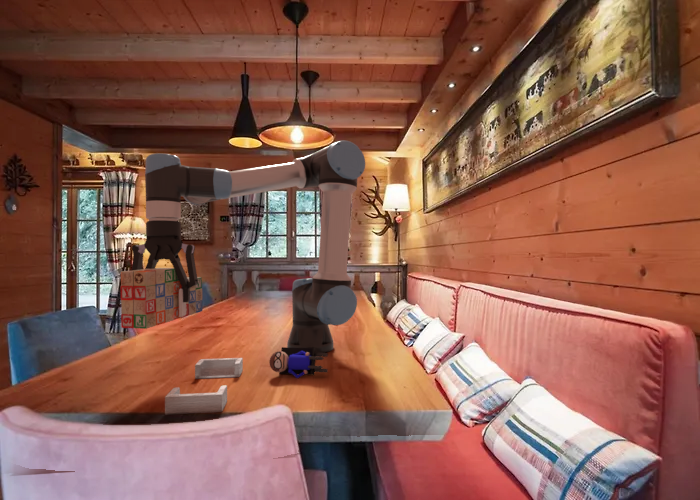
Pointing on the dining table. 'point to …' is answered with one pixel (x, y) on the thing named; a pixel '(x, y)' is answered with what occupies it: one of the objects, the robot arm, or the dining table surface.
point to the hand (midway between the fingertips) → (165, 316)
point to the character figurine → (297, 361)
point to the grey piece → (218, 368)
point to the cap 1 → (195, 402)
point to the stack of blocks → (154, 297)
